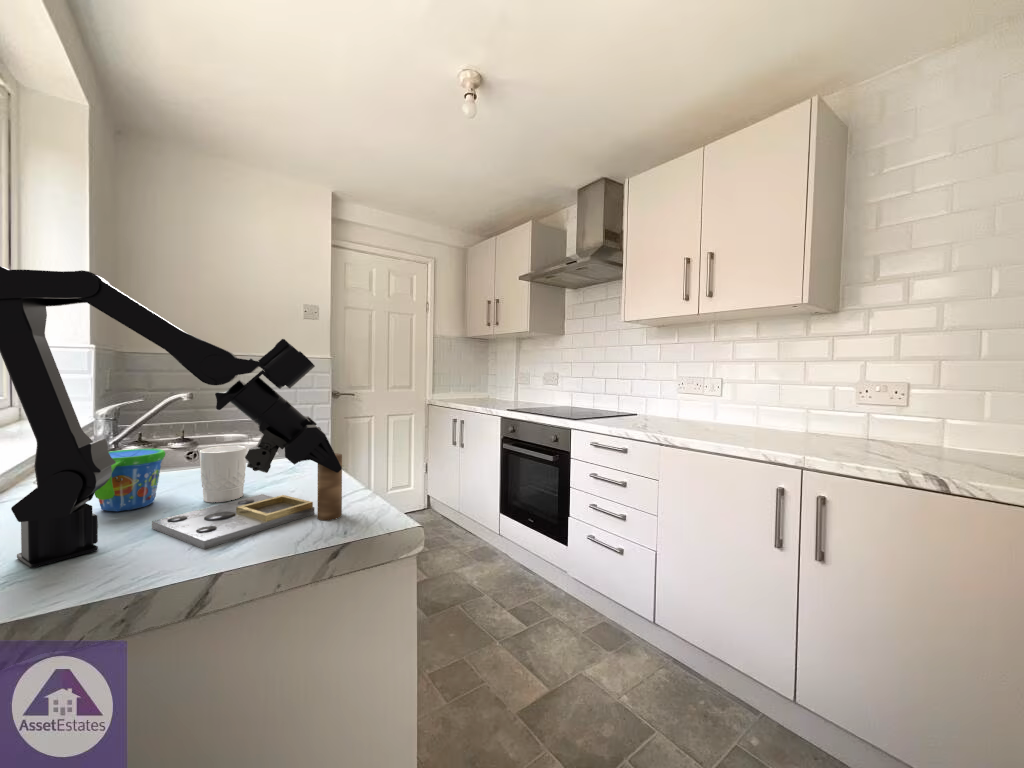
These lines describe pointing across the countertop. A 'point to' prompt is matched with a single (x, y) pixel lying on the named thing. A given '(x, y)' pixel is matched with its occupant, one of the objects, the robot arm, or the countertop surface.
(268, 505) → the flange plate
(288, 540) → the countertop surface
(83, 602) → the countertop surface
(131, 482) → the snack cup
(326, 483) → the dowel
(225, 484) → the white cup
